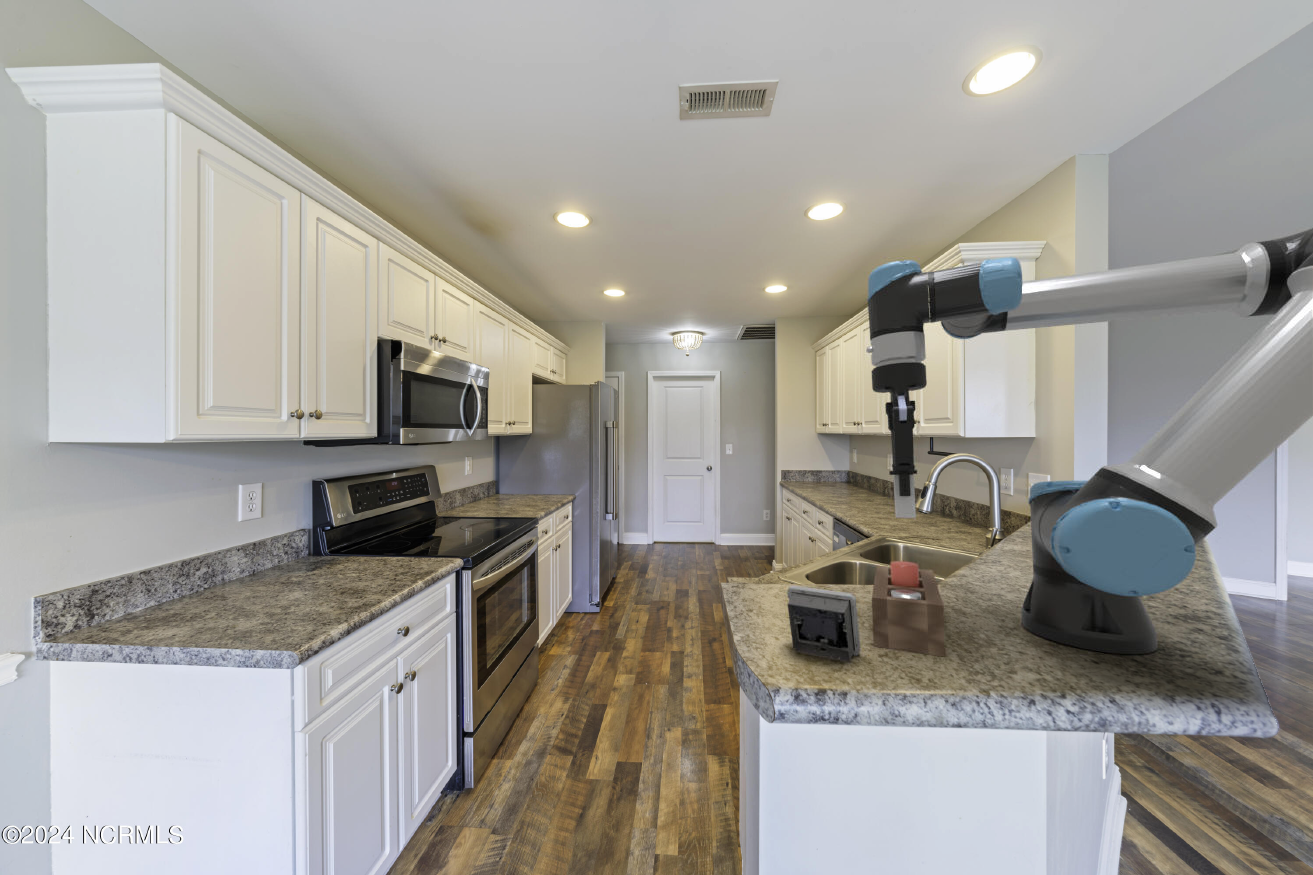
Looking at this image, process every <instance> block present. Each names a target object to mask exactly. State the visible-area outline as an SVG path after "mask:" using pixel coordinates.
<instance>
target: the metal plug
mask: <svg viewBox="0 0 1313 875" xmlns="http://www.w3.org/2000/svg"><path fill="white" fill-rule="evenodd" d="M891 597H898V598H907V599H916V600H921V594H920V593H918V592H916V591H912V590H905V589H896V590H892V591H891Z"/></svg>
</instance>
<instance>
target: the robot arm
mask: <svg viewBox="0 0 1313 875" xmlns="http://www.w3.org/2000/svg"><path fill="white" fill-rule="evenodd" d="M867 285H868V286H867V298H866V299H867V311H868V322H869V323H868V325H869V326H868V327H869V340H870V346H867V347H866V353H868V354H871V355H870V357H871V358H870V360H871V365H872V366H873V367H874V368H873V369H872V370H871V385H872V386H871V388H872V392H875V393H881V394H885V393H887V394H888V393H889V394H890V401H888V402H886V403H885V415H887V428H888V429H887V430H889V431H890V434H891V435H890V436H891V437H890V440H891V441H890V442H891V452H892V453H891V456H892V464H891V468H892V470H889V475H890V476H893V477H892V478H893V491H894V496H893V497H894V512H895V518H898V519H901V518H902V519H917V513H916V497H915V496H916V494H915V493H916V492H915V475H917V474H918V470H917V469H916V465H915V459H914V457H915V456H914V455H915V454H914V428H915V411H916V401H915V400H910V399H911V398H910V391H911V392H912V391H918V390H923V389H924V388H926V386H927V384H928V383H927V382H928V381H927V368H926V367H927V366H926V364H924V363H923V362H924V361H925V360H926V359H927V358H926V357H927V356H926V340H925V339H926V338H925V337H926V336H925V329H924V326H925V324H930V323H931V324H933V323H938V322H939V323H940V325H941V327H942V329H943V330H944V332H945V333H946V334H947V335H948V336H950V337H951V338H954V339H957V340H969V339H973V338H975V337H978V336H981V335H982V334H989V333H997V332H998V333H999V332H1007V331H1016V330H1018V331H1019V330H1029V329H1031V330H1032V329H1040V328H1041V329H1042V328H1051V327H1064V326H1071V325H1072V326H1073V325H1074V326H1075V325H1084V324H1093V323H1095V324H1097V323H1105V322H1106V323H1108V322H1117V321H1118V322H1119V321H1128V320H1129V321H1130V320H1139V319H1150V318H1162V317H1174V316H1175V317H1176V316H1185V315H1194V314H1195V315H1196V314H1206V313H1207V314H1208V313H1218V312H1229V313H1230V314H1232V315H1234V316H1235V317H1237V318H1248V317H1259V316H1260V317H1261V316H1272V317H1271V318H1270V319H1269V320H1268V321H1267V322H1265V324H1264V325H1262V327H1261V328H1260V329H1259V330H1258V331H1257V332H1256V333H1255V334H1254V335H1253V336H1252V337H1251V338H1250V339H1249V340H1248V341H1247V342H1246V343H1245V344H1244V345H1243V346H1242V347H1241V348H1240V349H1239V350H1238V351H1237V352H1236V353H1235V354H1234V355H1233V356H1232V357H1230V359H1229V360H1228V361H1227V362H1226V363H1225V364H1224V365H1223V366H1222V367H1221V368H1220V369H1219V370H1218V371H1217V372H1216V373H1215V374H1214V375H1213V376H1212V377H1211V378H1210V379H1209V380H1208V381H1207V382H1206V383H1205V384H1204V385H1203V386H1202V387H1200V389H1199V390H1198V391H1197V392H1196V393H1195V394H1194V395H1193V396H1192V397H1191V398H1190V399H1189V400H1188V401H1187V402H1186V403H1185V404H1184V405H1183V406H1182V407H1181V408H1180V409H1179V410H1178V411H1177V412H1176V413H1175V414H1174V415H1173V416H1172V417H1171V418H1170V419H1168V421H1167V422H1166V423H1165V424H1164V425H1163V426H1162V427H1161V428H1160V429H1159V430H1158V431H1157V432H1156V433H1155V434H1154V435H1153V436H1152V437H1151V438H1150V439H1149V440H1148V441H1147V442H1146V443H1145V444H1144V445H1143V446H1142V447H1141V448H1140V449H1139V450H1138V451H1137V452H1136V453H1135V454H1134V455H1133V456H1132V457H1131V458H1130V459H1129V460H1128V461H1127V462H1124V463H1118V464H1112V465H1111V464H1110V465H1109V464H1108V465H1103V466H1101V467H1100V468H1099V469H1098V471H1097V472H1095V474H1093V476H1091V477H1090V479H1088V480H1055V481H1054V480H1052V481H1050V480H1048V481H1039V482H1036V483H1034V484H1032V486H1030V489H1029V497H1028V501H1027V503H1028V505H1029V508H1030V527H1031V528H1030V529H1031V533H1030V534H1031V553H1032V554H1031V555H1032V570H1033V572H1032V574H1033V576H1032V580H1031V583H1030V585H1029V588H1028V590H1027V592H1026V593H1027V594H1026V596H1025V599H1024V601H1023V604H1022V607H1021V610H1020V611H1021V624H1022V626H1023V627H1024V629H1026V630H1027V631H1029V632H1030V633H1033V634H1034V635H1037V636H1039V637H1042V638H1045V639H1047V640H1050V641H1052V642H1056V643H1059V644H1062V645H1065V646H1066V645H1067V646H1071V647H1075V648H1079V649H1083V650H1090V651H1095V652H1102V653H1111V654H1119V655H1143V654H1144V655H1145V654H1149V653H1153V652H1155V651H1157V650H1158V633H1157V629H1156V628H1155V625H1154V624H1153V622H1152V619H1151V617H1150V615H1149V613H1148V610H1147V608H1146V606H1145V605H1144V602H1143V599H1142V598H1141V597H1147V596H1152V595H1156V594H1160V593H1163V592H1164V593H1165V592H1166V591H1168V590H1171V589H1173V588H1175V587H1176V586H1178V585H1179V584H1181V583H1182V582H1184V580H1185V579H1186V578H1187V577H1188V576H1189V575H1190V573H1191V572H1192V570H1193V569H1194V566H1195V563H1196V559H1197V558H1196V557H1197V553H1196V550H1197V549H1196V547H1197V545H1198V544H1200V543H1201V542H1202V541H1203V540H1204V539H1205V538H1206V537H1207V536H1209V534H1210V533H1212V532H1213V531H1214V529H1216V528H1217V527H1218V521H1217V518H1216V514H1215V511H1214V507H1215V505H1216V504H1217V503H1218V502H1220V501H1221V500H1222V499H1223V498H1224V497H1225V496H1226V495H1227V494H1228V493H1229V492H1231V490H1233V489H1234V488H1235V487H1236V486H1237V485H1239V484H1240V483H1241V482H1242V481H1243V480H1244V479H1245V478H1246V477H1247V476H1248V475H1249V474H1251V473H1252V472H1253V471H1254V470H1255V469H1257V467H1258V466H1260V465H1261V464H1262V463H1263V462H1264V461H1265V460H1267V458H1268V457H1269V456H1270V455H1272V453H1274V451H1276V450H1277V449H1278V448H1280V446H1281V445H1283V443H1285V442H1286V441H1287V440H1288V439H1289V438H1290V437H1291V436H1292V435H1294V434H1295V432H1297V431H1298V430H1299V429H1300V428H1301V427H1302V426H1304V424H1306V423H1307V422H1308V421H1309V420H1310V419H1311V418H1312V417H1313V227H1312V228H1309V229H1306V230H1304V231H1300V232H1297V233H1295V234H1291V235H1289V236H1284V237H1281V238H1275V239H1271V240H1264V241H1257V242H1251V243H1246V244H1244V245H1243V246H1242V247H1240V248H1239V249H1238V250H1237V251H1235V252H1234V253H1227V254H1226V253H1225V254H1218V255H1212V256H1211V255H1210V256H1204V257H1197V258H1190V259H1183V260H1181V259H1180V260H1174V261H1167V262H1165V261H1164V262H1161V263H1160V262H1159V263H1152V264H1146V265H1145V264H1144V265H1137V266H1130V267H1129V266H1128V267H1123V268H1122V267H1121V268H1113V269H1107V270H1106V269H1105V270H1101V271H1100V270H1099V271H1093V272H1084V273H1077V274H1071V275H1063V276H1054V277H1048V278H1047V277H1046V278H1041V279H1032V280H1026V281H1025V280H1023V271H1022V265H1021V263H1020V261H1019V260H1018V258H1017V257H1014V256H1008V257H1001V258H993V259H991V258H988V259H985V260H983V261H977V262H974V263H968V264H963V265H959V266H955V267H948V268H945V269H938V270H934V271H929V272H927V271H926V272H923V270H921V265H920V263H918V261H914V260H912V259H911V260H910V259H908V260H903V261H900V260H896V261H891V262H887V263H884V264H882V265H879V266H877V267H876V268H875V269H873V270H872V271H871V272H870V274H869V276H868V280H867Z"/></svg>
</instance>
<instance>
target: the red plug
mask: <svg viewBox="0 0 1313 875" xmlns="http://www.w3.org/2000/svg"><path fill="white" fill-rule="evenodd" d="M890 567H891V585H894V586H904V587H914V588H919V569H920V568H919V564H918V563H916V562H913V561H912V562H911V561H904V560H895V561H894V560H893V561H890Z"/></svg>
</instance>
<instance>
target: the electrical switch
mask: <svg viewBox="0 0 1313 875" xmlns="http://www.w3.org/2000/svg"><path fill="white" fill-rule="evenodd" d="M786 594H787V598H788V602H787V611H788V619H789V626H790V635H791V641H792V642H791V643H792V649H793V651H794V652H796V653H802V654H805V655H806V654H807V655H811V656H815V657H819V658H820V657H821V658H824V657H825V659H829V660H835V661H838V662H843V663H849V664H850V663H851V659H852V657H853V656H858V655H859V654H860V653H861V639H860V638H861V637H860V630H859V629H860V628H859V618H858V609H857V599H856V598H857V597H856V596H855V595H854V594H853V593H851V592H844V591H835V590H827V589H820V588H814V587H807V586H801V585H800V586H799V585H793V584H792V585H790V586H789V587H788V589H787V593H786ZM821 649H824V650H821ZM844 661H845V662H844Z"/></svg>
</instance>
